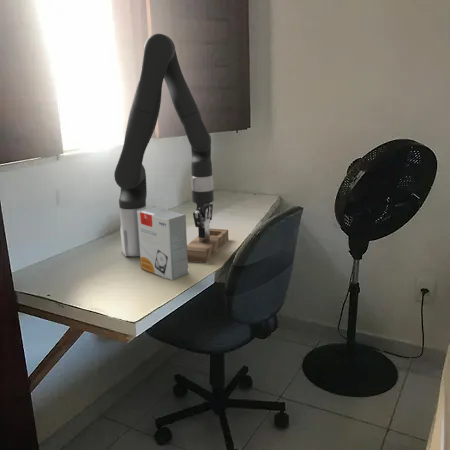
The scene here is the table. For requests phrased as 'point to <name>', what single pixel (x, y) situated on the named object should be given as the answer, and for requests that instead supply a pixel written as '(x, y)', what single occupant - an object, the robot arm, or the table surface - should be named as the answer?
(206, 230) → the brushed metal cylinder
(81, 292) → the table surface
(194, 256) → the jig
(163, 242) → the hard drive box
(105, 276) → the table surface
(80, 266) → the table surface
